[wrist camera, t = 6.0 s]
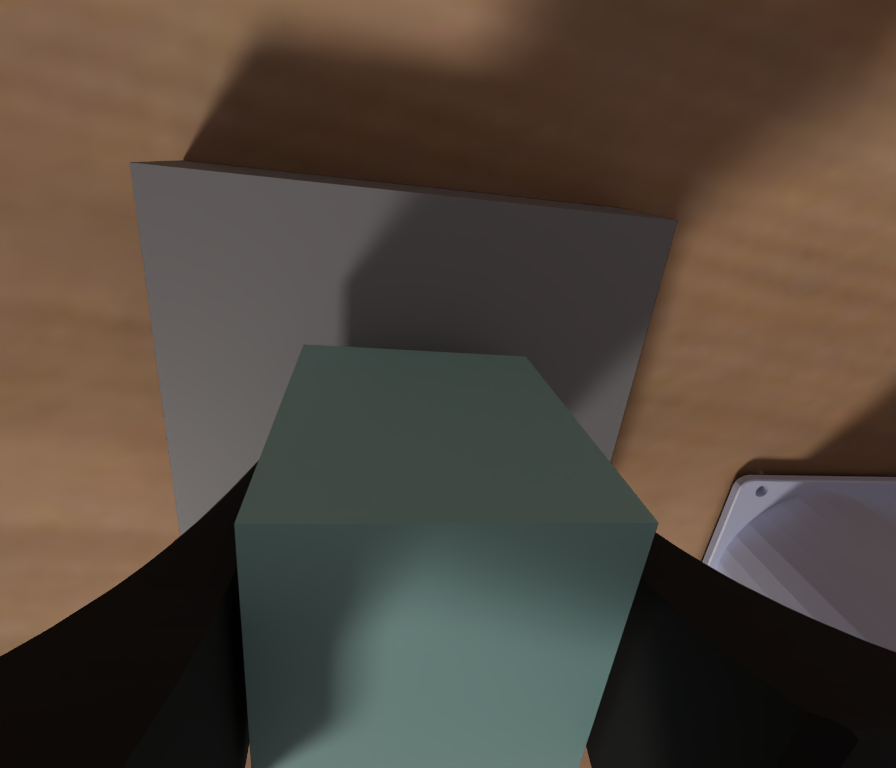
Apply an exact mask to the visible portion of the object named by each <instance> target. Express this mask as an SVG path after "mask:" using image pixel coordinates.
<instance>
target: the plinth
mask: <svg viewBox="0 0 896 768" xmlns="http://www.w3.org/2000/svg"><path fill="white" fill-rule="evenodd" d="M130 168H131V175H132V183H133V190H134V197H135V205H136V212H137V220H138V227H139V235H140V242H141V250H142V257H143V264H144V272H145V279H146V287H147V294H148V302H149V309H150V317H151V324H152V331H153V339H154V346H155V354H156V361H157V369H158V376H159V384H160V391H161V398H162V406H163V413H164V421H165V428H166V436H167V443H168V451H169V458H170V465H171V473H172V480H173V488H174V495H175V503H176V510H177V517H178V525H179V532H180V536H181V535H182V534H183V533H185V532H186V531H187V530H188V529H189V528H190V527H191V526H193V525H194V524H195V523H196V522H197V521H198V520H199V519H201V518H202V517H203V516H204V515H205V514H206V513H207V512H208V511H209V510H210V509H211V508H212V507H213V506H214V505H215V504H216V503H217V502H218V501H219V500H220V499H221V498H222V497H223V496H225V495H226V494H227V493H228V492H229V491H230V490H231V488H232V487H233V486H234V485H235V484H236V483H237V482H238V481H239V480H240V479H241V478H242V477H243V476H244V475H245V474H246V473H247V472H248V471H249V470H250V469H251V468H252V467H253V465H254V464H255V463H256V462H257V461H258V460H259V458H260V456H261V453H262V451H263V448H264V445H265V443H266V440H267V438H268V435H269V433H270V430H271V427H272V425H273V422H274V420H275V417H276V414H277V412H278V409H279V407H280V404H281V401H282V399H283V396H284V394H285V391H286V389H287V386H288V383H289V381H290V378H291V376H292V373H293V370H294V368H295V365H296V363H297V360H298V357H299V355H300V352H301V350H302V347H303V344H306V345H325V346H343V347H361V348H379V349H397V350H416V351H434V352H452V353H470V354H489V355H507V356H525V357H526V358H527V359H528V360H529V361H530V363H531V364H532V365H533V366H534V368H535V369H536V370H537V371H538V373H539V374H540V375H541V376H542V378H543V379H544V380H545V381H546V383H547V384H548V385H549V386H550V388H551V389H552V390H553V391H554V393H555V394H556V395H557V396H558V398H559V399H560V400H561V401H562V403H563V404H564V405H565V406H566V408H567V409H568V410H569V411H570V413H571V414H572V415H573V416H574V418H575V419H576V420H577V421H578V423H579V424H580V425H581V426H582V428H583V429H584V430H585V431H586V433H587V434H588V435H589V436H590V438H591V439H592V440H593V441H594V443H595V444H596V445H597V446H598V448H599V449H600V450H601V451H602V453H603V454H604V455H605V457H606V458H607V459H608V460H609V462H611V458H612V455H613V451H614V448H615V444H616V440H617V437H618V433H619V430H620V426H621V422H622V419H623V415H624V412H625V408H626V404H627V401H628V397H629V394H630V390H631V386H632V383H633V379H634V376H635V372H636V369H637V365H638V361H639V358H640V354H641V351H642V347H643V343H644V340H645V336H646V333H647V329H648V325H649V322H650V318H651V315H652V311H653V307H654V304H655V300H656V297H657V293H658V289H659V286H660V282H661V279H662V275H663V272H664V268H665V264H666V261H667V257H668V254H669V250H670V246H671V243H672V239H673V236H674V232H675V228H676V225H677V220H673V219H668V218H664V217H659V216H655V215H650V214H646V213H641V212H637V211H632V210H628V209H623V208H615V207H606V206H597V205H588V204H579V203H569V202H560V201H551V200H542V199H532V198H523V197H514V196H505V195H496V194H486V193H477V192H468V191H459V190H449V189H440V188H431V187H422V186H413V185H403V184H394V183H385V182H376V181H366V180H357V179H348V178H339V177H329V176H320V175H311V174H302V173H293V172H283V171H274V170H265V169H256V168H246V167H237V166H228V165H219V164H210V163H200V162H191V161H182V160H181V161H155V162H130Z"/></svg>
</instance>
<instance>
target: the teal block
mask: <svg viewBox="0 0 896 768" xmlns="http://www.w3.org/2000/svg"><path fill="white" fill-rule="evenodd" d="M657 526H658V522H657V520H656V519H655V518H654V517H653V515H652V514H651V513H650V512H649V510H648V509H647V508H646V507H645V505H644V504H643V503H642V502H641V500H640V499H639V498H638V497H637V495H636V494H635V493H634V492H633V490H632V489H631V488H630V487H629V485H628V484H627V483H626V482H625V480H624V479H623V478H622V477H621V475H620V474H619V473H618V472H617V470H616V469H615V468H614V467H613V465H612V464H611V463H610V462H609V460H608V459H607V458H606V457H605V455H604V454H603V453H602V451H601V450H600V449H599V448H598V446H597V445H596V444H595V443H594V441H593V440H592V439H591V438H590V436H589V435H588V434H587V433H586V431H585V430H584V429H583V428H582V426H581V425H580V424H579V423H578V421H577V420H576V419H575V418H574V416H573V415H572V414H571V413H570V411H569V410H568V409H567V408H566V406H565V405H564V404H563V403H562V401H561V400H560V399H559V398H558V396H557V395H556V394H555V393H554V391H553V390H552V389H551V388H550V386H549V385H548V384H547V383H546V381H545V380H544V379H543V378H542V376H541V375H540V374H539V373H538V371H537V370H536V369H535V368H534V366H533V365H532V364H531V363H530V361H529V360H528V359H527V358H526V357H525V356H507V355H489V354H470V353H452V352H434V351H416V350H397V349H379V348H361V347H343V346H325V345H306V344H303V347H302V350H301V352H300V355H299V357H298V360H297V363H296V365H295V368H294V370H293V373H292V376H291V378H290V381H289V383H288V386H287V389H286V391H285V394H284V396H283V399H282V401H281V404H280V407H279V409H278V412H277V414H276V417H275V420H274V422H273V425H272V427H271V430H270V433H269V435H268V438H267V440H266V443H265V445H264V448H263V451H262V453H261V456H260V458H259V461H258V464H257V466H256V469H255V471H254V474H253V477H252V479H251V482H250V484H249V487H248V490H247V492H246V495H245V497H244V500H243V502H242V505H241V508H240V510H239V513H238V515H237V518H236V521H235V523H234V527H235V541H236V556H237V570H238V584H239V598H240V613H241V627H242V641H243V655H244V670H245V684H246V698H247V712H248V727H249V741H250V755H251V768H579V765H580V762H581V759H582V756H583V753H584V750H585V747H586V744H587V741H588V738H589V735H590V732H591V729H592V726H593V722H594V719H595V716H596V713H597V710H598V707H599V704H600V701H601V698H602V695H603V692H604V689H605V686H606V683H607V679H608V676H609V673H610V670H611V667H612V664H613V661H614V658H615V655H616V652H617V649H618V646H619V643H620V640H621V636H622V633H623V630H624V627H625V624H626V621H627V618H628V615H629V612H630V609H631V606H632V603H633V600H634V597H635V594H636V590H637V587H638V584H639V581H640V578H641V575H642V572H643V569H644V566H645V563H646V560H647V557H648V554H649V551H650V547H651V544H652V541H653V538H654V535H655V532H656V529H657Z"/></svg>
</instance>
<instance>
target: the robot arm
mask: <svg viewBox="0 0 896 768" xmlns="http://www.w3.org/2000/svg"><path fill="white" fill-rule="evenodd" d="M258 461H259V460H258ZM258 461H257V462H256V463H255V464H254V465H253V467H252V468H251V469H250V470H249V471H248V472H247V473H246V474H245V475H244V476H243V477H242V478H241V479H240V480H239V481H238V482H237V483H236V484H235V485H234V486H233V487H232V488H231V490H230V491H229V492H228V493H227V494H226V495H225V496H223V497H222V498H221V499H220V500H219V501H218V502H217V503H216V504H215V505H214V506H213V507H212V508H211V509H210V510H209V511H208V512H207V513H206V514H205V515H204V516H203V517H202V518H201V519H199V520H198V521H197V522H196V523H195V524H194V525H193V526H191V527H190V528H189V529H188V530H187V531H186V532H185V533H183V534H182V535H181V536H180V537H179V538H178V539H176V540H175V541H174V542H173V543H172V544H171V545H170V546H168V547H167V548H166V549H165V550H163V551H162V552H161V553H160V554H158V555H157V556H156V557H155V558H153V559H152V560H151V561H150V562H148V563H147V564H146V565H144V566H143V567H142V568H140V569H139V570H138V571H136V572H135V573H134V574H132V575H131V576H129V577H128V578H127V579H125V580H124V581H122V582H121V583H120V584H118V585H117V586H115V587H114V588H112V589H111V590H109V591H108V592H106V593H105V594H103V595H102V596H100V597H98V598H97V599H95V600H94V601H92V602H91V603H89V604H87V605H86V606H84V607H83V608H81V609H80V610H78V611H76V612H75V613H73V614H72V615H70V616H69V617H67V618H65V619H64V620H62V621H61V622H59V623H58V624H56V625H54V626H53V627H51V628H49V629H48V630H46V631H44V632H43V633H41V634H39V635H38V636H36V637H34V638H32V639H31V640H29V641H27V642H25V643H24V644H22V645H20V646H18V647H17V648H15V649H13V650H11V651H10V652H8V653H6V654H4V655H2V656H0V768H245V764H246V759H247V753H248V747H249V742H250V741H249V727H248V712H247V698H246V684H245V670H244V655H243V641H242V627H241V613H240V598H239V584H238V570H237V556H236V541H235V527H234V523H235V521H236V518H237V515H238V513H239V510H240V508H241V505H242V502H243V500H244V497H245V495H246V492H247V490H248V487H249V484H250V482H251V479H252V477H253V474H254V471H255V469H256V466H257V464H258ZM586 747H587V751H588V755H589V759H590V763H591V767H592V768H896V477H858V476H794V475H745V476H742V477H740V478H738V479H737V480H736V481H735V483H734V484H733V487H732V489H731V492H730V494H729V497H728V499H727V502H726V504H725V507H724V509H723V512H722V514H721V516H720V519H719V521H718V524H717V526H716V529H715V531H714V534H713V536H712V539H711V541H710V544H709V546H708V549H707V551H706V554H705V556H704V559H703V561H702V562H701V561H700V560H698V559H696V558H694V557H693V556H691V555H689V554H688V553H686V552H685V551H683V550H681V549H680V548H678V547H677V546H675V545H673V544H672V543H671V542H669V541H668V540H666V539H665V538H663V537H662V536H660V535H659V534H657V533H656V532H655V535H654V538H653V541H652V544H651V547H650V551H649V554H648V557H647V560H646V563H645V566H644V569H643V572H642V575H641V578H640V581H639V584H638V587H637V590H636V594H635V597H634V600H633V603H632V606H631V609H630V612H629V615H628V618H627V621H626V624H625V627H624V630H623V633H622V636H621V640H620V643H619V646H618V649H617V652H616V655H615V658H614V661H613V664H612V667H611V670H610V673H609V676H608V679H607V683H606V686H605V689H604V692H603V695H602V698H601V701H600V704H599V707H598V710H597V713H596V716H595V719H594V722H593V726H592V729H591V732H590V735H589V738H588V741H587V744H586Z"/></svg>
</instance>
